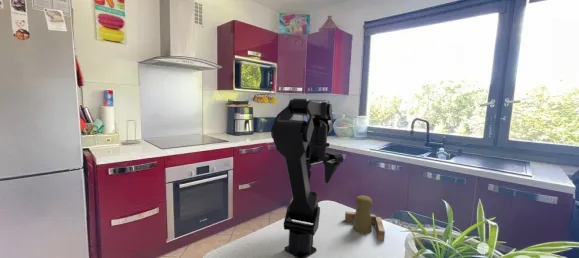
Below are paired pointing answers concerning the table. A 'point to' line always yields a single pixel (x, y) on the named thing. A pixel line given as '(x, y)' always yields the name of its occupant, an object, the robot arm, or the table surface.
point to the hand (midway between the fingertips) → (316, 186)
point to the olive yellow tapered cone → (363, 215)
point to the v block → (374, 221)
